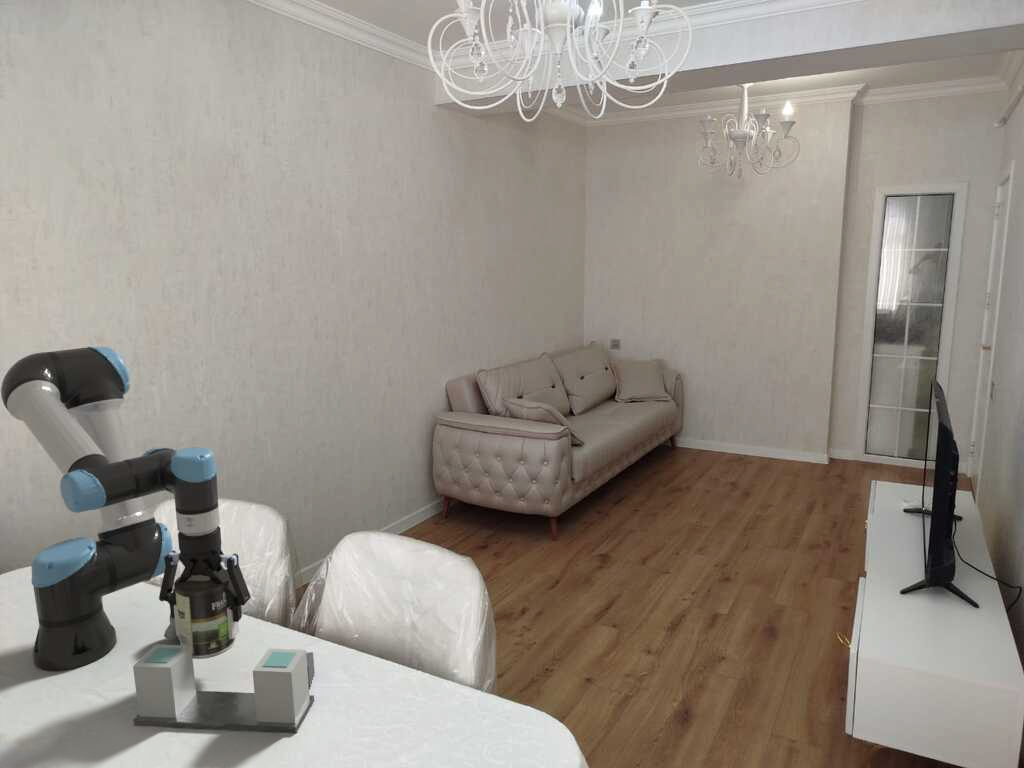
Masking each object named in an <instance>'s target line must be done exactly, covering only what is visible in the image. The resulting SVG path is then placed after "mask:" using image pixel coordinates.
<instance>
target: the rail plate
mask: <svg viewBox="0 0 1024 768" xmlns="http://www.w3.org/2000/svg"><path fill="white" fill-rule="evenodd" d="M313 702H314V703H315V695H310V694H309V700H308V702H307V704H306V706H305V707H304V709H303V711H302V712H301V714H300V716H299V718H298V719H297V721H296V723H278V722H257V715H256V704H255V693H254V692H240V691H239V692H237V691H236V692H235V691H213V690H210V691H209V690H196V695H195V696H194V697H193V699H192V700H191V701H190V702H189V703H188V705H187V706H186V707H185V708H184V709H183V711H182V712H181V713H180V714H179V715H178V717H177V718H166V717H143V716H139V713H138V714H137V715H136V716H135V717H134V718H133V719H132V721H133V726H135V727H150V728H151V727H153V728H154V727H155V728H156V727H157V728H172V729H173V728H174V729H175V728H176V729H177V728H178V729H197V730H219V731H221V730H222V731H237V732H238V731H241V732H243V731H244V732H264V733H283V734H285V733H286V734H287V733H288V734H297V733H298V731H299V729H300V728H301V725H302V724H303V722H304V720H305V719H306V717H307V715H308V713H309V712H310V710H311V708H312V706H313V705H312V704H314V703H313Z"/></svg>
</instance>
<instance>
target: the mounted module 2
mask: <svg viewBox="0 0 1024 768" xmlns="http://www.w3.org/2000/svg"><path fill="white" fill-rule="evenodd" d="M306 653H307V650H306V649H291V648H290V649H288V648H286V649H285V648H268V649H267V651H266V652H265V654H264V655H263V656H262V657H261V659H260V660H259V662H258V663H257V664H256V665H255V667H254V668H253V669H252V679H253V693H255V704H256V715H257V722H278V723H296V721H297V719H298V718H299V716H300V714H301V712H302V711H303V709H304V707H305V706H306V704H307V702H308V700H309V695H310V690H309V685H308V672H307V658H306Z"/></svg>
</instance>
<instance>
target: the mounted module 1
mask: <svg viewBox="0 0 1024 768" xmlns="http://www.w3.org/2000/svg"><path fill="white" fill-rule="evenodd" d="M194 668H195V667H194V660H193V657H192V648H191V646H183V645H179V644H177V645H175V644H154V645H153V646H152V647H151V648H150V649H149V650H148V651H147V652H146V653H145V654H144V655H143V656H141V658H139V660H138V661H137V662H135V663H134V665H132V670H133V678H134V685H135V694H136V701H137V710H138V714H139V716H143V717H166V718H177V717H178V715H179V714H180V713H181V712H182V711H183V709H184V708H185V707H186V706H187V705H188V703H189V702H190V701H191V700H192V699H193V697H194V696H195V695H196V691H197V688H196V686H197V685H196V680H195V679H196V677H195V669H194Z"/></svg>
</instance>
